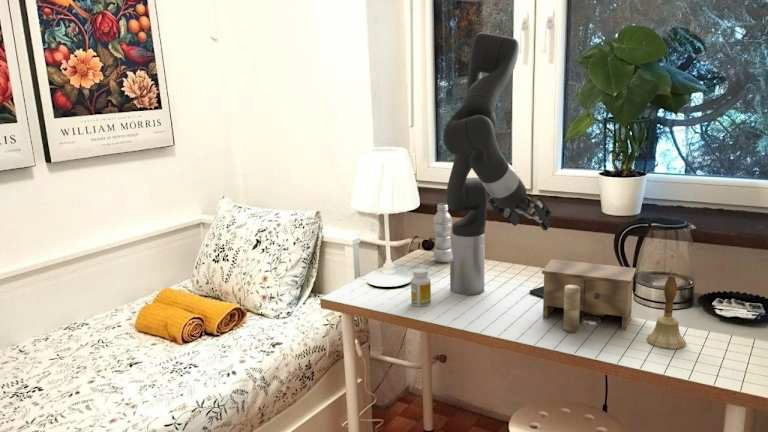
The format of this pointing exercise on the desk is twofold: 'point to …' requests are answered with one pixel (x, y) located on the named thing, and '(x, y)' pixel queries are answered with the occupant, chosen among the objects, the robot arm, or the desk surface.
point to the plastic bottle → (442, 234)
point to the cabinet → (590, 287)
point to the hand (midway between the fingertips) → (531, 225)
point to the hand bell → (667, 322)
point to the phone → (538, 292)
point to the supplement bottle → (420, 288)
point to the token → (590, 321)
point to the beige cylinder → (573, 309)
